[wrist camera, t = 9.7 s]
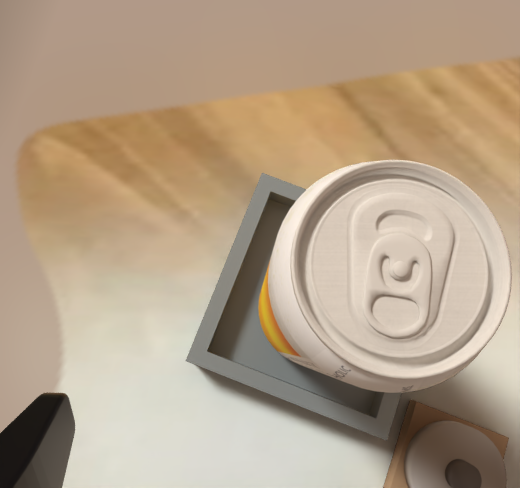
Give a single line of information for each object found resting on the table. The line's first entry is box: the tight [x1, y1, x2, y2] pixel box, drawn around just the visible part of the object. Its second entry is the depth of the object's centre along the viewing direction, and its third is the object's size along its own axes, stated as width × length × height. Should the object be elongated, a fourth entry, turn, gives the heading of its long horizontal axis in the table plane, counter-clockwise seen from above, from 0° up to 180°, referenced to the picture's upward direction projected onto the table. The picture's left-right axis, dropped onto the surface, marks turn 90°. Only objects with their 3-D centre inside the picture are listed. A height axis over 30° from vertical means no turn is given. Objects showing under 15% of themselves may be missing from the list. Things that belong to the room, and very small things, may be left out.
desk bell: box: [383, 399, 509, 488], centre depth 24 cm, size 5×5×3 cm
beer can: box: [258, 160, 512, 393], centre depth 19 cm, size 6×6×15 cm
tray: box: [186, 173, 401, 441], centre depth 26 cm, size 11×11×2 cm
